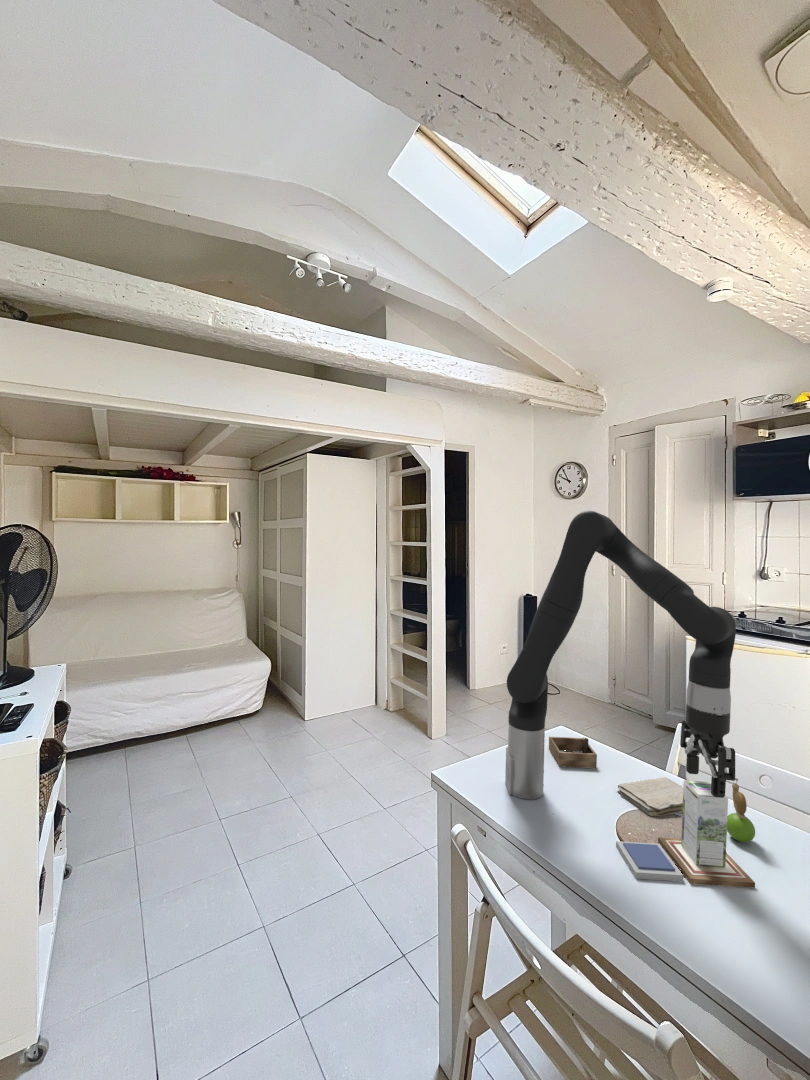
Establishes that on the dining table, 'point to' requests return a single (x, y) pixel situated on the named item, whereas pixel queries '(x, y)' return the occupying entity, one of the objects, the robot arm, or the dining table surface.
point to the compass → (584, 747)
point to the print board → (705, 868)
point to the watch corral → (570, 757)
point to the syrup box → (704, 824)
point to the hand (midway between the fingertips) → (704, 784)
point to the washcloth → (654, 796)
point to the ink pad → (648, 861)
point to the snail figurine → (739, 818)
